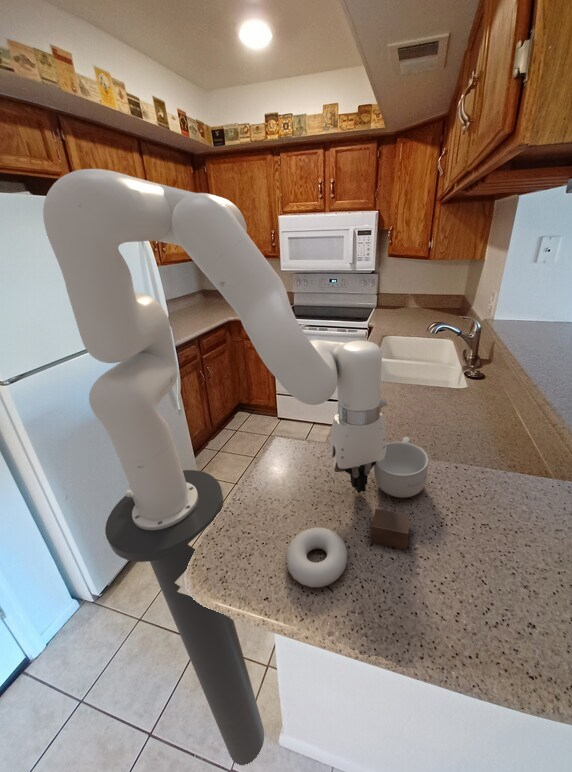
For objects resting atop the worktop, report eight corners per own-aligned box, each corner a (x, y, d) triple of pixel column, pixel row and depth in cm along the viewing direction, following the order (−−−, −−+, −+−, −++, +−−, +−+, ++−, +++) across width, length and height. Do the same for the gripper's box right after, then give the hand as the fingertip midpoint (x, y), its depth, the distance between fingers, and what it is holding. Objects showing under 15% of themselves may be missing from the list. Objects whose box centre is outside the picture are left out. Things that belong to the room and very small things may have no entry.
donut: (356, 550, 56) (306, 528, 60) (357, 536, 54) (305, 514, 59) (330, 604, 48) (274, 575, 52) (330, 590, 46) (272, 560, 51)
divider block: (371, 542, 57) (372, 526, 55) (375, 524, 60) (375, 508, 59) (406, 550, 55) (408, 533, 54) (408, 531, 59) (409, 515, 57)
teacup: (414, 514, 62) (417, 481, 59) (363, 492, 68) (363, 461, 64) (435, 471, 72) (440, 442, 69) (390, 456, 78) (391, 427, 74)
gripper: (386, 393, 64) (383, 467, 72) (313, 408, 60) (318, 484, 68) (406, 411, 57) (400, 490, 65) (326, 429, 54) (330, 510, 62)
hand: (359, 487), depth 67 cm, fingers closed
